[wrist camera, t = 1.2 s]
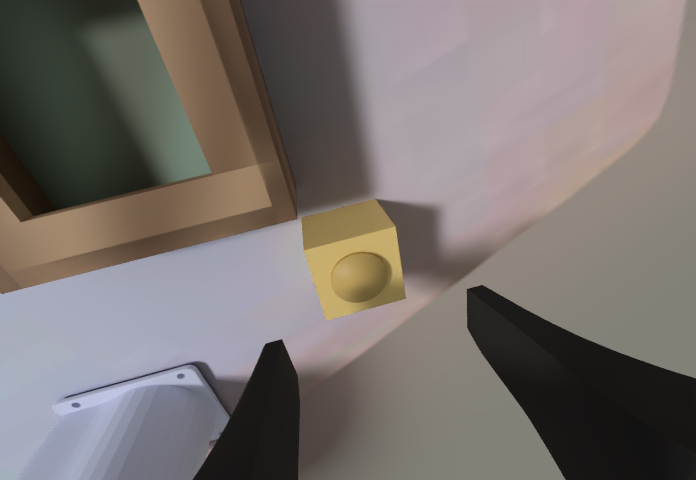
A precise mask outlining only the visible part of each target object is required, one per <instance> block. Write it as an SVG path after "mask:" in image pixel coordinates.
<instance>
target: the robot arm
mask: <svg viewBox="0 0 696 480" xmlns="http://www.w3.org/2000/svg"><path fill="white" fill-rule="evenodd" d="M467 328H468V330H469V332H470V333H471V335H472V337H473V339H474V341H475V342H476V344H477V346H478V348H479V349H480V351H481V353H482V354H483V356H484V357H485V358H486V360H487V361H488V362H489V364H490V365H491V367H492V368H493V369H494V371H495V372H496V373H497V375H498V376H499V377H500V379H501V380H502V381H503V383H504V384H505V386H506V387H507V388H508V390H509V391H510V392H511V393H512V395H513V396H514V398H515V399H516V401H517V402H518V403H519V405H520V406H521V407H522V409H523V410H524V412H525V413H526V415H527V416H528V418H529V419H530V421H531V422H532V424H533V426H534V427H535V429H536V430H537V432H538V433H539V435H540V437H541V439H542V440H543V442H544V444H545V445H546V447H547V449H548V450H549V452H550V454H551V455H552V457H553V459H554V460H555V462H556V464H557V466H558V467H559V469H560V470H561V472H562V474H563V476H564V477H565V479H566V480H696V378H693V377H689V376H686V375H683V374H679V373H676V372H673V371H670V370H666V369H664V368H660V367H658V366H655V365H652V364H649V363H646V362H644V361H640V360H638V359H635V358H632V357H629V356H627V355H624V354H621V353H619V352H616V351H613V350H611V349H609V348H606V347H604V346H601V345H599V344H596V343H594V342H592V341H589V340H586V339H584V338H582V337H580V336H578V335H575V334H573V333H571V332H569V331H567V330H565V329H563V328H561V327H559V326H557V325H555V324H552V323H551V322H549V321H546V320H544V319H543V318H541V317H539V316H537V315H535V314H533V313H531V312H529V311H527V310H526V309H523V308H522V307H520V306H518V305H517V304H515V303H513V302H511V301H510V300H508V299H506V298H504V297H502V296H501V295H499V294H497V293H495V292H494V291H492V290H490V289H488V288H487V287H485V286H483V285H480V286H477V287H473V288H470V289H467ZM52 409H53V411H54V412H55V413H56V414H58V415H59V416H60V417H59V418H58V419H57V421H56V422H55V424H54V425H53V427H52V428H51V429H50V431H49V432H48V434H47V435H46V436H45V438H44V439H43V441H42V442H41V443H40V445H39V446H38V448H37V449H36V450H35V452H34V453H33V455H32V456H31V458H30V459H29V460H28V462H27V463H26V465H25V466H24V467H23V469H22V470H21V472H20V473H19V474H18V476H17V477H16V479H15V480H298V454H299V452H298V451H299V450H298V449H299V417H300V399H299V386H298V375H297V373H296V371H295V368H294V366H293V364H292V361H291V359H290V357H289V354H288V352H287V350H286V348H285V345H284V343H283V341H282V339H281V340H278V341H274V342H270V343H267V344H265V346H264V348H263V350H262V352H261V355H260V357H259V359H258V362H257V364H256V366H255V368H254V371H253V373H252V375H251V377H250V379H249V382H248V384H247V386H246V388H245V390H244V392H243V394H242V396H241V398H240V400H239V402H238V404H237V406H236V408H235V410H234V412H233V413H232V415H231V417H229V415H228V414H227V412H226V411H225V409H224V408H223V406H222V405H221V403H220V402H219V400H218V399H217V397H216V396H215V394H214V393H213V391H212V390H211V388H210V387H209V385H208V384H207V382H206V381H205V379H204V378H203V376H202V375H201V373H200V372H199V370H198V369H197V367H196V366H194V365H186V366H182V367H178V368H175V369H171V370H167V371H164V372H160V373H156V374H153V375H149V376H145V377H142V378H138V379H134V380H131V381H127V382H124V383H120V384H116V385H113V386H109V387H105V388H102V389H98V390H94V391H91V392H87V393H83V394H80V395H76V396H72V397H69V398H65V399H61V400H58V401H57V402H56V403H55V404H54V406H53V407H52ZM216 439H218V440H217V442H216V444H215V445H214V447H213V449H212V450H211V452H210V453H209V455H208V457H207V452H208V448H209V444H210V441H212V440H216ZM206 457H207V458H206Z"/></svg>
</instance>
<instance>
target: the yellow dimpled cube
mask: <svg viewBox="0 0 696 480" xmlns="http://www.w3.org/2000/svg"><path fill="white" fill-rule="evenodd" d="M302 231H303V246H304V253H305V256H306V259H307V262H308V265H309V268H310V271H311V274H312V278H313V281H314V284H315V287H316V290H317V293H318V296H319V299H320V302H321V306H322V309H323V312H324V315H325V318H326V320H330V319H333V318H337V317H341V316H344V315H348V314H352V313H355V312H359V311H362V310H366V309H370V308H373V307H377V306H381V305H384V304H388V303H392V302H395V301H399V300H403V299H406V296H405V289H404V282H403V275H402V268H401V261H400V254H399V247H398V240H397V233H396V226H395V225H394V224H393V222H392V221H391V220H390V218H389V217H388V215H387V214H386V213H385V211H384V210H383V209H382V207H381V206H380V205H379V203H378V202H377V200H376V199H373V200H369V201H365V202H361V203H358V204H354V205H350V206H346V207H342V208H338V209H334V210H330V211H326V212H322V213H318V214H315V215H311V216H307V217H303V218H302Z"/></svg>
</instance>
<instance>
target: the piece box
mask: <svg viewBox="0 0 696 480" xmlns="http://www.w3.org/2000/svg"><path fill="white" fill-rule="evenodd" d="M294 219H297V197H296V185H295V182H294V179H293V175H292V172H291V169H290V165H289V162H288V158H287V155H286V152H285V148H284V145H283V142H282V138H281V135H280V132H279V128H278V125H277V122H276V118H275V115H274V112H273V108H272V105H271V102H270V98H269V95H268V92H267V88H266V85H265V82H264V78H263V75H262V72H261V68H260V65H259V61H258V58H257V55H256V51H255V48H254V45H253V41H252V38H251V35H250V31H249V28H248V25H247V21H246V18H245V15H244V11H243V8H242V5H241V1H240V0H0V293H1V294H4V293H8V292H11V291H15V290H19V289H23V288H27V287H31V286H35V285H39V284H43V283H47V282H51V281H55V280H59V279H63V278H67V277H70V276H74V275H78V274H82V273H86V272H90V271H94V270H98V269H102V268H106V267H110V266H114V265H118V264H122V263H125V262H129V261H133V260H137V259H141V258H145V257H149V256H153V255H157V254H161V253H165V252H169V251H173V250H177V249H180V248H184V247H188V246H192V245H196V244H200V243H204V242H208V241H212V240H216V239H220V238H224V237H228V236H232V235H236V234H239V233H243V232H247V231H251V230H255V229H259V228H263V227H267V226H271V225H275V224H279V223H283V222H287V221H291V220H294Z"/></svg>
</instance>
